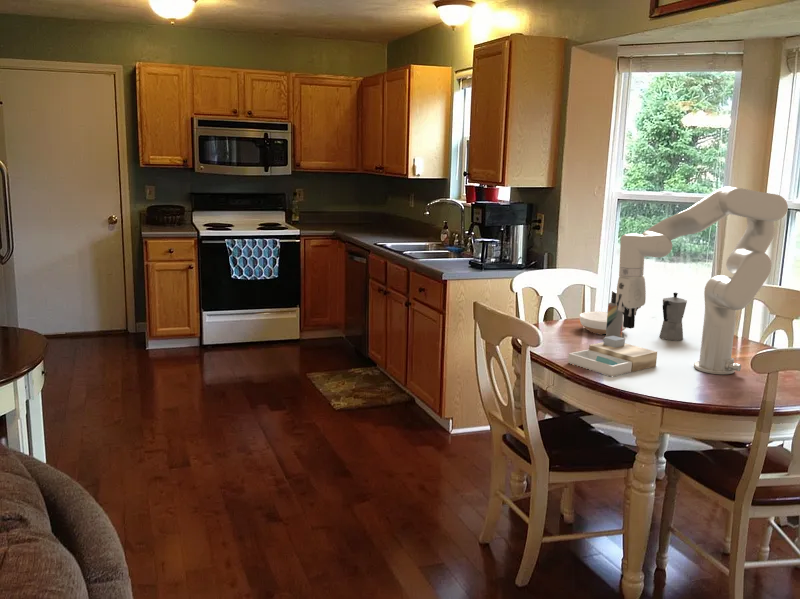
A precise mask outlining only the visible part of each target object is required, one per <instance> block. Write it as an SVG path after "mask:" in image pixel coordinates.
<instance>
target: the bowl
mask: <svg viewBox="0 0 800 599" xmlns="http://www.w3.org/2000/svg"><path fill="white" fill-rule="evenodd" d="M607 315H608V311H585V312H582V313H579V321H580V324H581V325H582V327H584V328H585V329H586V330H587V331H588V332H590V333H592V332H593V334H596V333H598V334H597V335H602V334H606V327H607ZM623 319H624V316H623ZM626 329H627V328H625V327H623V325H622V332H623V331H625V330H626Z"/></svg>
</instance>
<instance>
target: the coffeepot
mask: <svg viewBox="0 0 800 599" xmlns="http://www.w3.org/2000/svg"><path fill="white" fill-rule="evenodd" d="M678 294H679V293H677V292H673V297H671V296H670V297H664V298H662V315H663V316H662V317H663V321H662V325H661V328H660V329H661V330H660V332H659V338H660V339H662V338H663V340H666V339H667V340H666V341H683V339H684V331H683V330H684V329H683V318H684V316H685V315H684V314H685V311H686V306H687V304H688V300H686V299H685V298H679V297H678Z"/></svg>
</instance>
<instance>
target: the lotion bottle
mask: <svg viewBox="0 0 800 599" xmlns="http://www.w3.org/2000/svg"><path fill="white" fill-rule="evenodd" d="M616 292H617V289H614V290H612V291H611V297H610V298H611V299H610V302H608V304H607V312H608V315H607V327H606V335H605V337H609V336H617V337H620V338H622V335H623V331H622V325H623V314H622V312H619V311H618V306H617V305H616Z"/></svg>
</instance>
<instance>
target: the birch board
mask: <svg viewBox="0 0 800 599" xmlns="http://www.w3.org/2000/svg"><path fill="white" fill-rule="evenodd" d="M603 343H604V341H602V342H599V343H593V344H589V347H588V350H592V351H595V352H599V353H602V354H606V355H610V356H613V357H617V358H620V359H624V360H627V361H631V362H632V368H631V372H630V373H633V372H637V371H642V370H646V369H649V368H654V367H656V366H657V358H658V351H655V350H652V349H648V348H644V347H640V346H636V345H632V344H630V343H629V344H628V343H625V345H624V346H621V347H616V348H615V347H611V346H607V345H604V344H603Z"/></svg>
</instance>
